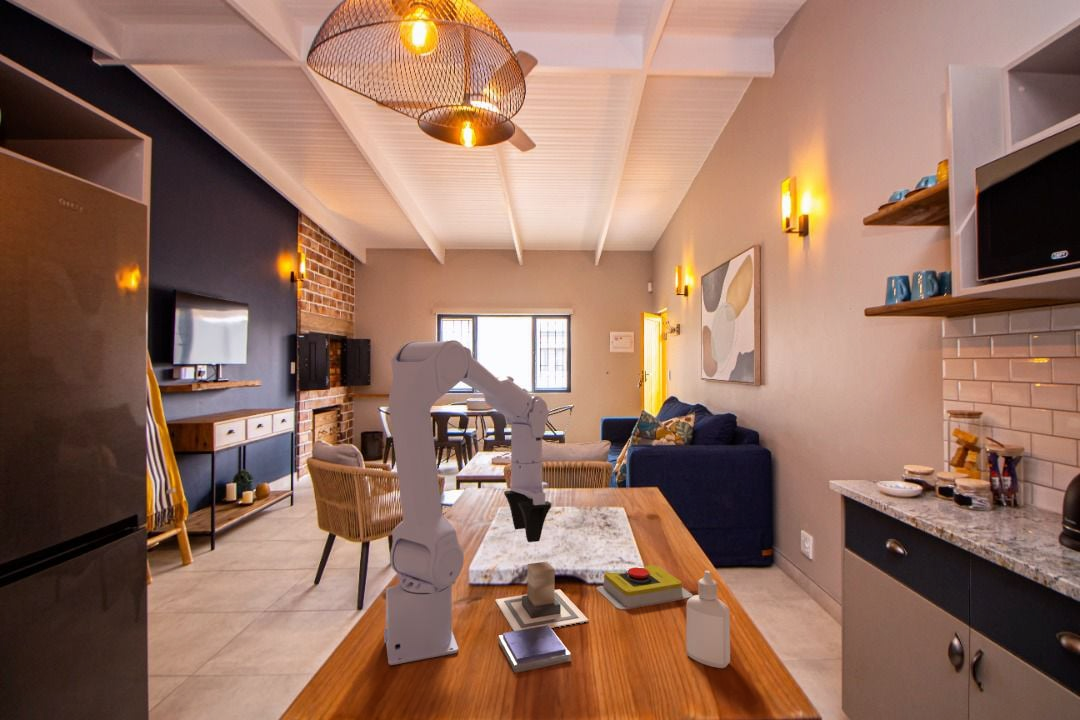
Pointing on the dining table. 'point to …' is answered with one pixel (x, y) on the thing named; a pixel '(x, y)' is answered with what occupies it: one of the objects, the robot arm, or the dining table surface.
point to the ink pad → (533, 648)
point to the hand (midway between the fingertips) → (526, 534)
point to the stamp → (540, 591)
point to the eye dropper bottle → (708, 626)
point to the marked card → (522, 620)
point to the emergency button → (642, 587)
